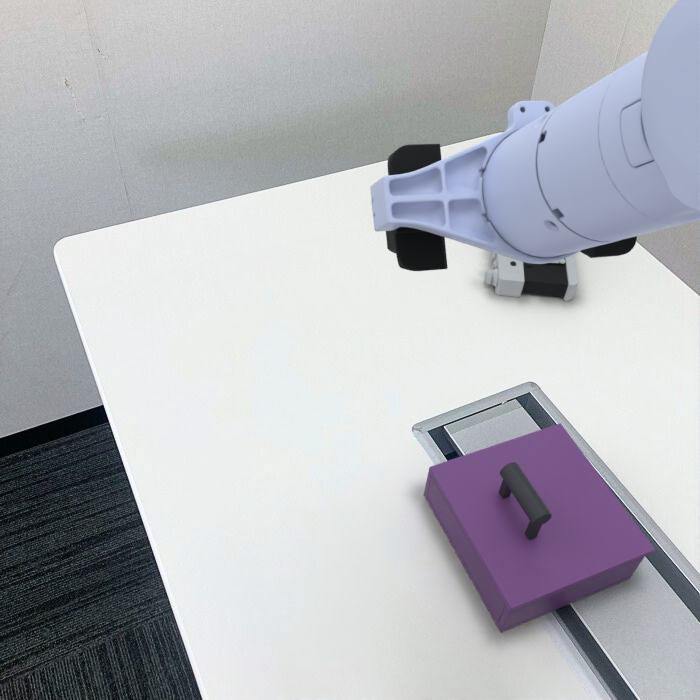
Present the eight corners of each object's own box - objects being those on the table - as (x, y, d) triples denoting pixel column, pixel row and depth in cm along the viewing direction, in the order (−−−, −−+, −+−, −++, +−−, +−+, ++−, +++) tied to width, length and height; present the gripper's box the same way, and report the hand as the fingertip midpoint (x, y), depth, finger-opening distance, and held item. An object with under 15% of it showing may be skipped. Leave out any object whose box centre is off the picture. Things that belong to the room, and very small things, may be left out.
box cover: (558, 426, 67) (571, 395, 64) (653, 553, 59) (673, 523, 55) (428, 470, 63) (434, 439, 60) (509, 612, 55) (522, 584, 52)
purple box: (541, 453, 69) (551, 429, 67) (630, 578, 61) (644, 557, 58) (423, 494, 66) (428, 471, 63) (500, 633, 57) (509, 612, 55)
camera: (591, 253, 79) (495, 243, 79) (573, 302, 84) (483, 293, 84) (576, 171, 89) (491, 163, 90) (561, 219, 94) (481, 212, 95)
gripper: (749, 62, 30) (566, 151, 44) (413, 61, 27) (323, 159, 40) (765, 236, 31) (578, 273, 44) (433, 260, 27) (336, 293, 40)
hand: (457, 227), depth 42 cm, fingers open, 7 cm apart
